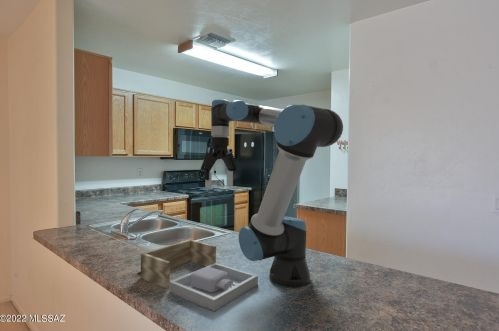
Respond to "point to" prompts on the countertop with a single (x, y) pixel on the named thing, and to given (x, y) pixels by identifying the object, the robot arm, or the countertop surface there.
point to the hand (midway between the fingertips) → (219, 187)
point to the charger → (210, 279)
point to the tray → (219, 297)
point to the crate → (174, 259)
